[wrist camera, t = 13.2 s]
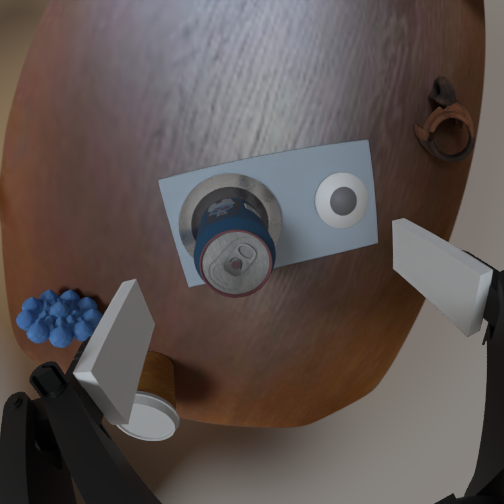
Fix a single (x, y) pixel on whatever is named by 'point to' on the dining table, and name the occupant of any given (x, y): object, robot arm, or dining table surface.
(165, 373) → the disposable coffee cup
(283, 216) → the flange board
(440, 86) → the pottery mug
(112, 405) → the robot arm
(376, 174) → the dining table surface
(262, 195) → the wide flange
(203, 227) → the soda can
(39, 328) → the grapes
